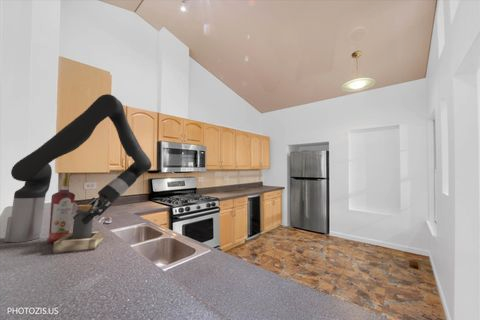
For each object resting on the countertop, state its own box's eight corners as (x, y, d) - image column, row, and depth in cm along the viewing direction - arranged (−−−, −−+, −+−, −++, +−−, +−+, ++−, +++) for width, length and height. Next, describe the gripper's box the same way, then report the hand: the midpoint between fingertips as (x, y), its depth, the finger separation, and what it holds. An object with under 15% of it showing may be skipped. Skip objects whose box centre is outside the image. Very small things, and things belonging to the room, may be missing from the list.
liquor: (48, 246, 74) (57, 172, 77) (43, 242, 78) (52, 172, 81) (72, 241, 80) (80, 173, 83) (66, 238, 84) (74, 173, 87)
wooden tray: (52, 253, 67) (54, 242, 67) (67, 243, 78) (68, 233, 78) (94, 249, 72) (95, 239, 72) (102, 240, 83) (103, 231, 83)
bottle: (94, 243, 77) (97, 204, 79) (77, 247, 72) (82, 206, 73) (84, 241, 79) (88, 203, 80) (67, 245, 73) (71, 205, 75)
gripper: (100, 183, 87) (64, 213, 77) (115, 184, 80) (78, 217, 69) (112, 195, 91) (79, 224, 81) (128, 197, 83) (94, 230, 73)
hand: (78, 221), depth 75 cm, fingers open, 8 cm apart
